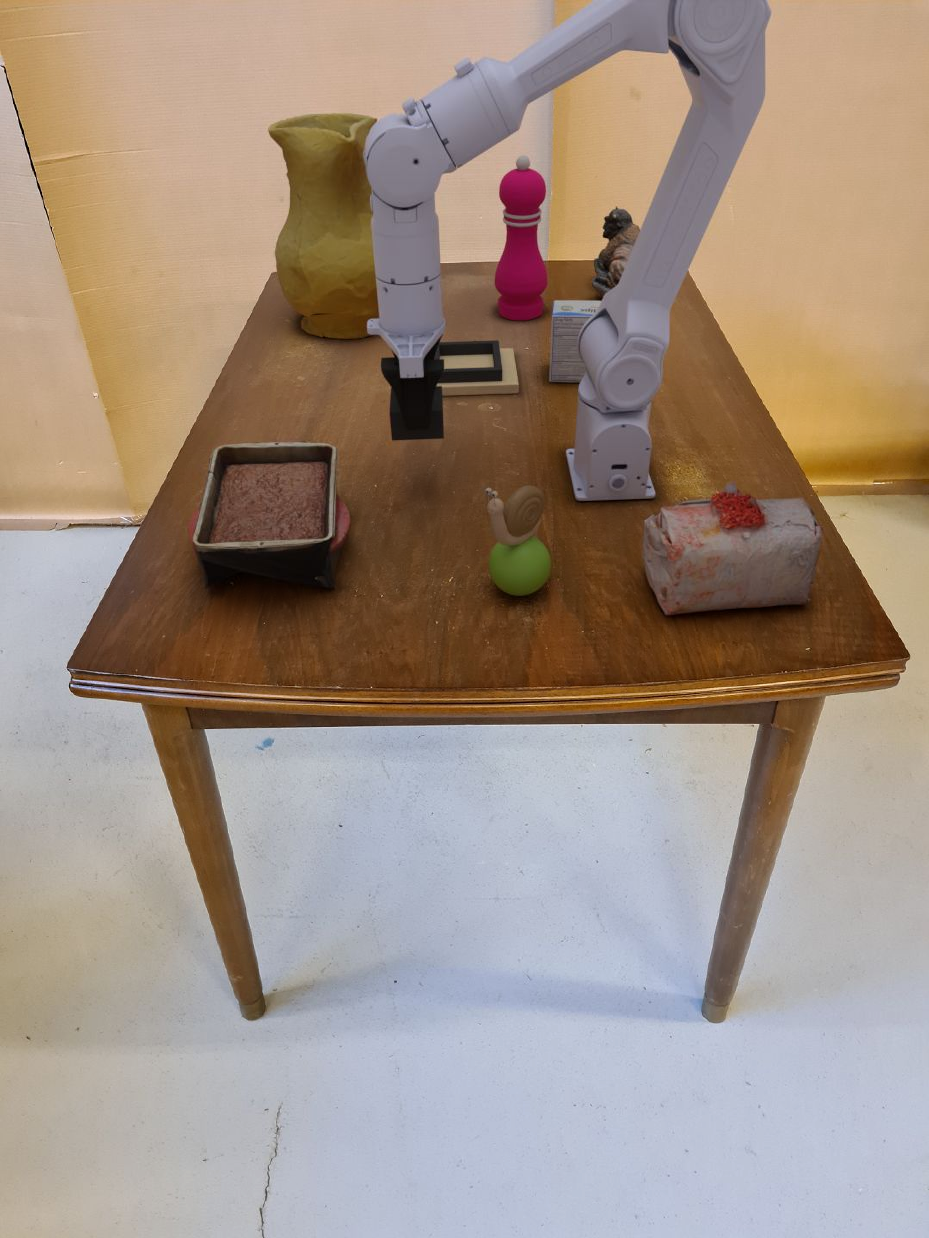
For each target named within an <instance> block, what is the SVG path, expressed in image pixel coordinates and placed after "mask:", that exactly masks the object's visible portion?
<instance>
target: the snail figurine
mask: <svg viewBox="0 0 929 1238" xmlns="http://www.w3.org/2000/svg"><path fill="white" fill-rule="evenodd" d="M485 494H486V495H487V502H488V503H487V505H486V510H487V513H488V514H489V521H490V526H491V529H492V533H493V535H494V537H495V540H496V541H497V542H496V543H495V544H494V546H493V547H492V549H491V551H490V553H489V557H488V563H487V564H488V565H487V566H488V572H489V576H490V579H491V580H492V582H493V583H494V585H495V586H496V587H497V588H498V589H499V590H500V591H502V592H504V593H506V594H508V595H511V596H517V597H518V596H519V597H521V596H522V597H523V596H528V595H531V594H533V593H535V592H537V591H539V590H540V589H541V588H542V587H543V586H544V585H545V583H546V582H547V581H548V579H549V576H550V573H551V569H552V559H551V555H550V552H549V550H548V548H547V547H546V545H545V544H544V543H543V542H542V541H541V540H540V539H539V538H537V537H536V536H534V535H535V533H536V532H537V531H538V528H539V526H540V524H541V521H542V516H543V514H544V510H545V497H544V493H543V492H542V490H541V489H540V488H538V486H535V485H524V486H521V487H519V488H517V489H516V490H515V491H513V493H512V494H511V495H510V496H509V497H508V499H507V500H506V501H505V503H504V502H503V500H502V499H500V498H499V497H498V496H499V492H498V491H497V490H493V489H492V488H491V487H487V488H485ZM490 495H491V497H492V499H490Z"/></svg>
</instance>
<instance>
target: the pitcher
mask: <svg viewBox="0 0 929 1238" xmlns="http://www.w3.org/2000/svg"><path fill="white" fill-rule="evenodd" d="M377 121H378V118H377V117H375V116H374V117H373V116H369V115H365V114H359V113H351V112H350V113H346V112H345V113H338V112H337V113H336V112H335V113H307V114H303V115H296V116H293V117H288V118H287V117H286V118H285V119H281V120H278V121H276V122H273V123H271V124H270V125H269V126H268V127H267V131H268V134H269V137H270V138H271V139H272V140H273V141H274V142H275V144H277V145H278V146H279V147H280V148H281V150H282V158H283V160H284V162H285V166H286V171H287V172H286V177H287V180H288V185H289V208H288V214H287V217H286V219H285V222H284V224H283V227H282V228H281V230H280V232H279V235H278V237H277V239H276V243H275V249H274V257H275V268H276V275H277V280H278V282H279V285H280V288H281V290H282V294H283V298H284V299H286V301H287V302H288V303H289V305H290V307H291V308H292V309H293V311H294V312H295V313H297V314H300V315H302V316H303V318H302V319H301V320H300V325H301V326H300V329H301V330H303V331H305V333H306V334H308V335H313V336H316V337H320V338H323V337H325V338H328V339H338V340H341V339H343V340H350V339H353V340H354V339H362V338H366V337H371V336H372V335H370V334H368V332H367V321H368V320H370V319H377V318H379V308H378V297H377V286H376V275H375V264H374V253H373V242H372V231H371V218H372V216H373V212H372V210H371V205H370V195H371V194H372V189H371V185H370V183H369V181H368V178H367V173H366V165H365V162H364V158H363V151H364V149H365V142H366V138H367V136H368V134H369V132H370V129H371V128H372V126H373V125H374V124H375V123H376V122H377Z"/></svg>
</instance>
